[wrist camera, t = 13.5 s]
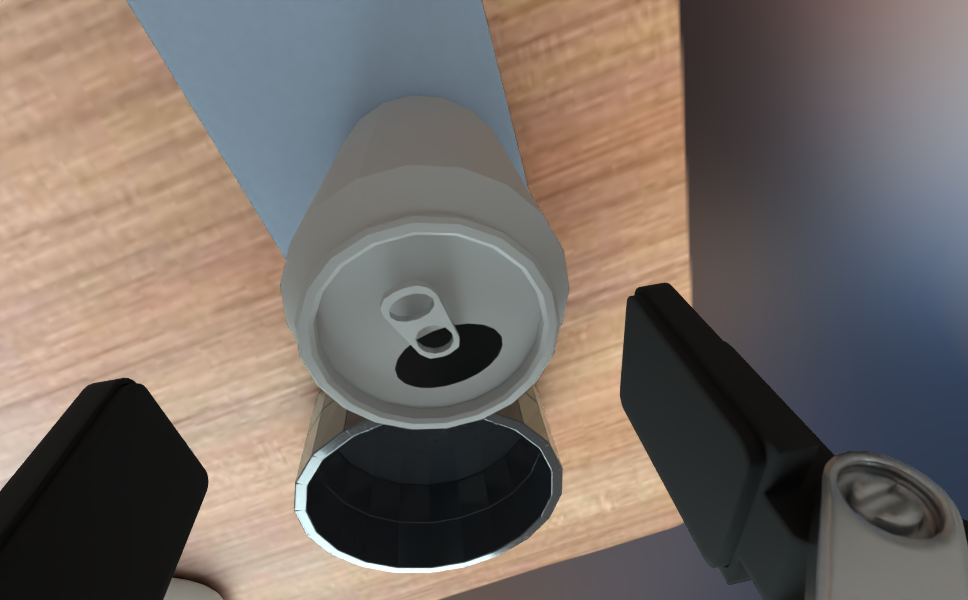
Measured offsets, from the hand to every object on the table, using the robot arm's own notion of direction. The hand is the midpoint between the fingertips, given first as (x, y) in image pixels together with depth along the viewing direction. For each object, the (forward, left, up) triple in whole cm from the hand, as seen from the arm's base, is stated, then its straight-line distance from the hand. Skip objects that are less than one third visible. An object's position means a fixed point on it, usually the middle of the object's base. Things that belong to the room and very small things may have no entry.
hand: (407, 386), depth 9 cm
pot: (+4, -15, -14) cm, 21 cm away
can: (+1, 0, -14) cm, 14 cm away
